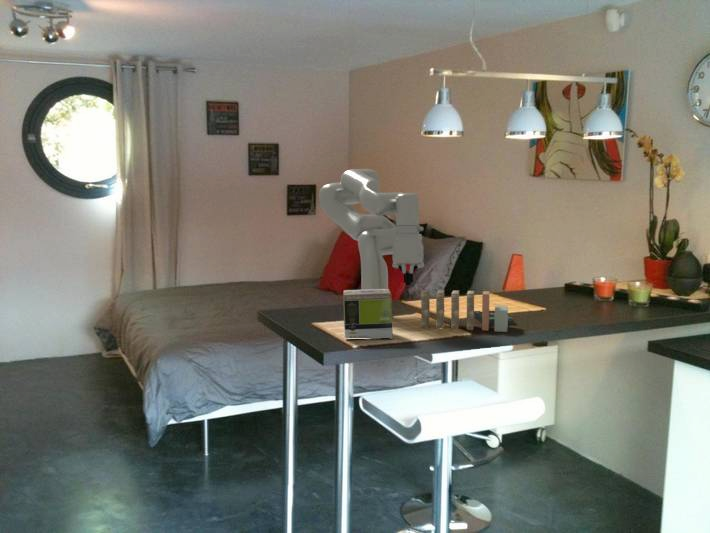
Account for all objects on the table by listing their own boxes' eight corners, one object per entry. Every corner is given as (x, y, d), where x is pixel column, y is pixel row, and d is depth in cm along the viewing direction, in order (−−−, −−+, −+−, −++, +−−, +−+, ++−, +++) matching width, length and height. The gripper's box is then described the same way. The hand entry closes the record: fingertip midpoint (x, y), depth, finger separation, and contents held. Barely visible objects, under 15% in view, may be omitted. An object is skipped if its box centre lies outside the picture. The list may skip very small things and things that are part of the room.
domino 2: (436, 328, 238) (436, 293, 237) (438, 324, 244) (438, 290, 242) (442, 328, 238) (442, 293, 236) (444, 325, 243) (444, 290, 242)
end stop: (494, 331, 233) (494, 310, 232) (495, 326, 241) (495, 305, 240) (507, 331, 232) (507, 310, 231) (507, 326, 240) (507, 305, 239)
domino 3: (451, 329, 237) (451, 293, 235) (453, 325, 243) (453, 290, 241) (457, 329, 236) (457, 293, 235) (459, 325, 242) (459, 290, 241)
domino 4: (466, 329, 236) (466, 293, 234) (468, 325, 242) (468, 290, 240) (472, 330, 235) (473, 293, 234) (474, 326, 241) (474, 290, 240)
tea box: (390, 332, 233) (389, 287, 231) (392, 339, 223) (392, 293, 221) (343, 333, 233) (343, 288, 231) (344, 341, 223) (343, 294, 221)
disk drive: (472, 318, 256) (484, 326, 242) (472, 311, 256) (484, 318, 241) (500, 317, 258) (514, 325, 243) (500, 309, 257) (514, 317, 243)
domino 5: (482, 330, 235) (482, 294, 233) (483, 326, 240) (483, 291, 239) (488, 330, 234) (488, 294, 233) (489, 326, 240) (489, 291, 238)
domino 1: (421, 328, 239) (421, 292, 238) (423, 324, 245) (423, 289, 243) (427, 328, 239) (427, 292, 237) (429, 324, 245) (429, 289, 243)
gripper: (431, 229, 241) (432, 283, 243) (387, 229, 244) (388, 283, 246) (428, 231, 234) (429, 286, 236) (383, 231, 237) (384, 286, 239)
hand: (408, 284), depth 241 cm, fingers closed
